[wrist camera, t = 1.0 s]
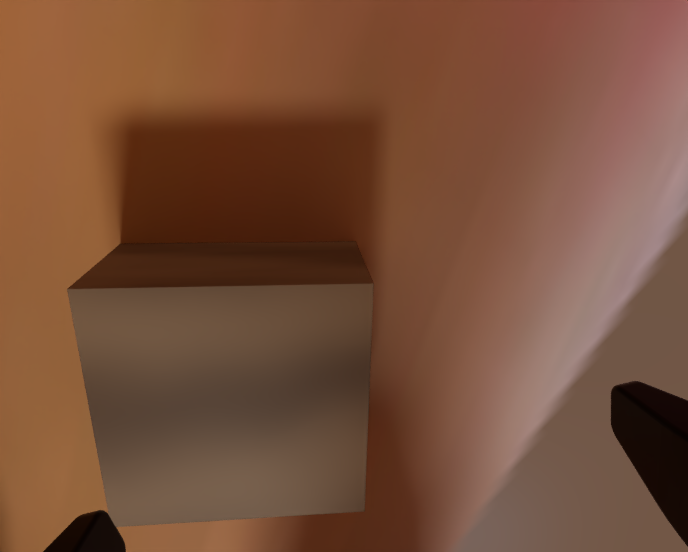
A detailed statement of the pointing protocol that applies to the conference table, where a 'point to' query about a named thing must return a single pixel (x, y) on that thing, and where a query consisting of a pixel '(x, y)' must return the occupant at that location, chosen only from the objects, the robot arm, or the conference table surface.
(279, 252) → the walnut block
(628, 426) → the robot arm
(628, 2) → the conference table surface
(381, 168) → the conference table surface
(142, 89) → the conference table surface
